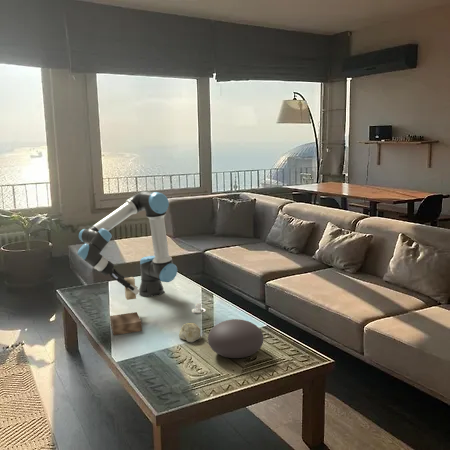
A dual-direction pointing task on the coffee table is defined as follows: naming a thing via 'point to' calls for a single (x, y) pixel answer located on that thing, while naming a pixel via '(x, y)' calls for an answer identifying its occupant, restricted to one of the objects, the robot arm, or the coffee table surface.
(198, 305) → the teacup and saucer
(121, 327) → the walnut block
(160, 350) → the coffee table surface
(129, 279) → the beech block
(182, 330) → the decorative item
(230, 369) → the coffee table surface
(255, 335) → the flattened ellipsoid
